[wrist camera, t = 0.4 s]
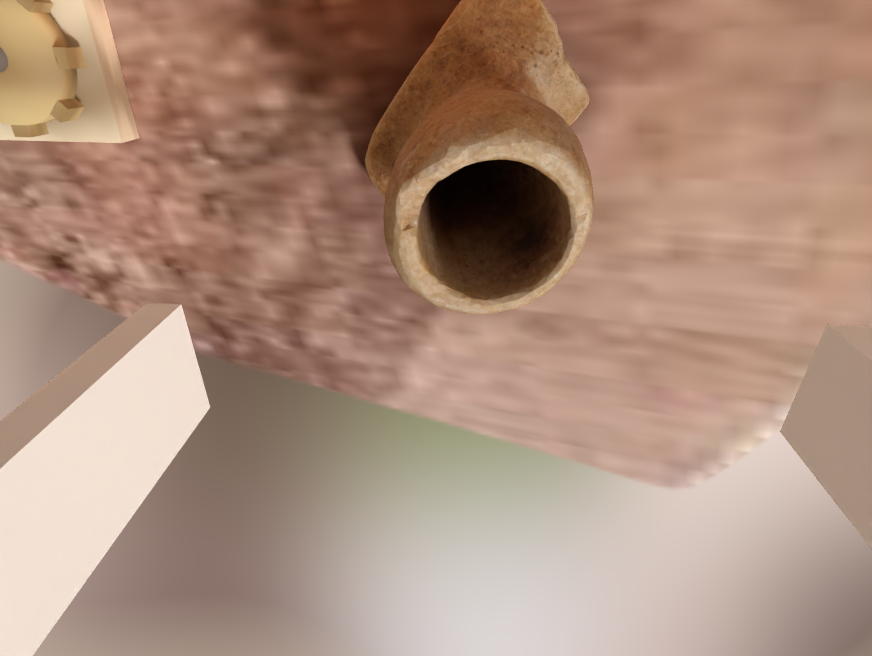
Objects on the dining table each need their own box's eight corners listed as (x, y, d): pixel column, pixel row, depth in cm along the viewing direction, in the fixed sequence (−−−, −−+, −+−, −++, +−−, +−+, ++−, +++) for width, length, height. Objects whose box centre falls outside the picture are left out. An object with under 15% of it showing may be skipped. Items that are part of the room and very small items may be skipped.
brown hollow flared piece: (474, 265, 38) (475, 379, 25) (347, 160, 35) (273, 228, 22) (634, 99, 32) (744, 136, 19) (497, -48, 29) (517, -123, 16)
